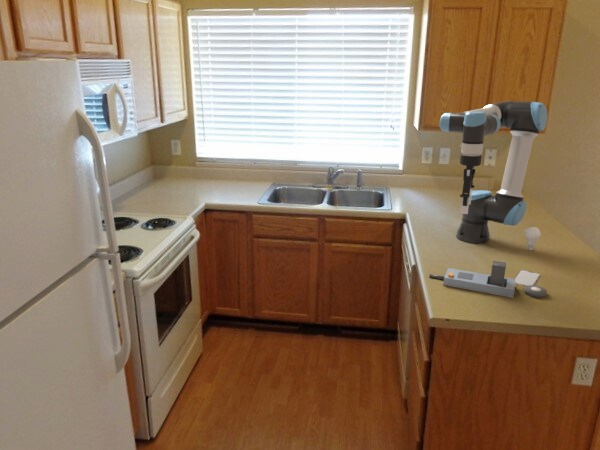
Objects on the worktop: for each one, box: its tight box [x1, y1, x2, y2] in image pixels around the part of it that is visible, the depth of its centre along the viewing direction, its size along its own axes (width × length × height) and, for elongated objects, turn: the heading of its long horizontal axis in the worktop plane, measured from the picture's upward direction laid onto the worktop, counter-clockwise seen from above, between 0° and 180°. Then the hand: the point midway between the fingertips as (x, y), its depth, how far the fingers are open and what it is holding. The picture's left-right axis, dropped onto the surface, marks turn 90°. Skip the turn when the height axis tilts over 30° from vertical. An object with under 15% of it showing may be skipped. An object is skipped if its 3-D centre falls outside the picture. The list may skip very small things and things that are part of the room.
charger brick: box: [489, 260, 507, 287], centre depth 168 cm, size 4×5×10 cm
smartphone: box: [513, 269, 541, 287], centre depth 179 cm, size 7×1×15 cm
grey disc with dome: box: [524, 284, 548, 299], centre depth 166 cm, size 7×7×2 cm
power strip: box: [429, 267, 516, 299], centre depth 173 cm, size 10×30×4 cm, turn 64°
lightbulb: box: [524, 226, 542, 251], centre depth 206 cm, size 6×6×11 cm
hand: (465, 208), depth 180 cm, fingers open, 13 cm apart
